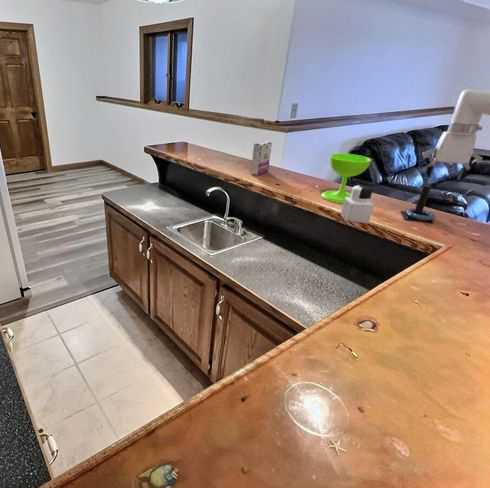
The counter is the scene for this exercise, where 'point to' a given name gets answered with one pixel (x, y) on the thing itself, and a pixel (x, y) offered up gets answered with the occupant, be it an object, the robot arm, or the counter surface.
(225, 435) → the counter surface
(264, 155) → the candy bar box
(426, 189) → the stand
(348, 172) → the wineglass
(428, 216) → the ring
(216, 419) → the counter surface
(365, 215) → the container
